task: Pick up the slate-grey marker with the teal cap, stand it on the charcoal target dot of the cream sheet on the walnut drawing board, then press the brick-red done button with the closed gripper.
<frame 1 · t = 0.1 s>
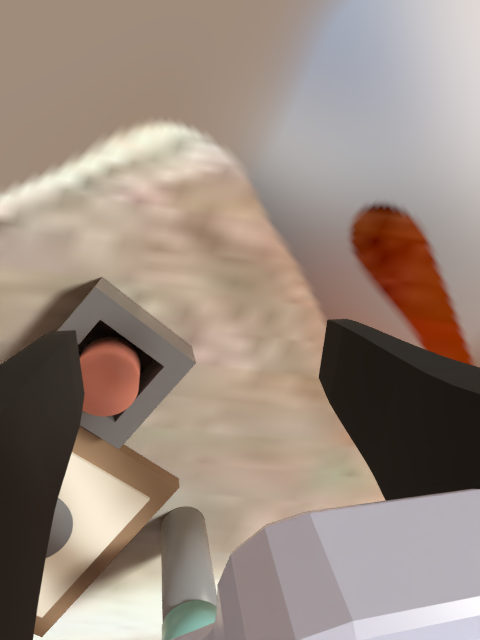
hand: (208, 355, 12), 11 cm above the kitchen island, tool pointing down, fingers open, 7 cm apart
done button: (107, 375, 19), point 3 cm above the kitchen island, slide at 0.0 cm
drawing board: (32, 513, 23), on the kitchen island
marker: (183, 525, 26), on the kitchen island
button housing: (112, 354, 22), on the kitchen island
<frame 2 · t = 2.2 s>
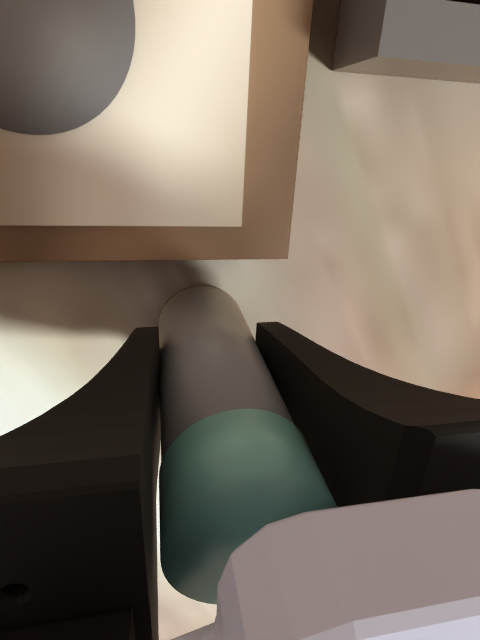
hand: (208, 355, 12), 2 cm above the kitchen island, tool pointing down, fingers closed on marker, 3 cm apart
drawing board: (29, 19, 9), on the kitchen island
marker: (200, 325, 13), on the kitchen island, touching gripper
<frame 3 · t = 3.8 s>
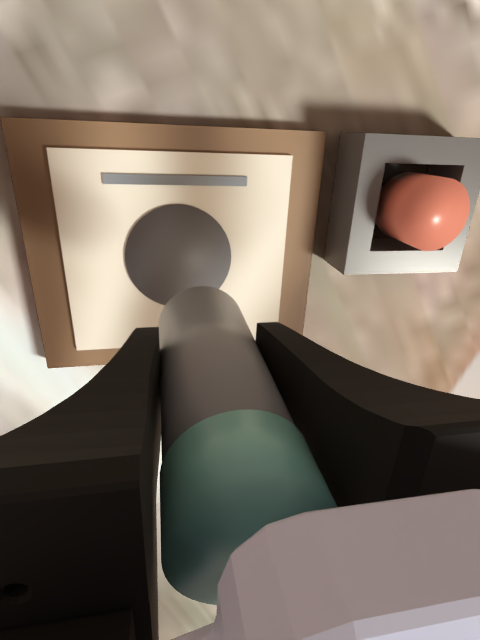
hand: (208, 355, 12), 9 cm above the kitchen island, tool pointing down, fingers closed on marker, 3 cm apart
done button: (419, 210, 18), point 3 cm above the kitchen island, slide at 0.0 cm
drawing board: (178, 252, 19), on the kitchen island
marker: (201, 325, 13), point 7 cm above the kitchen island, touching gripper
button housing: (387, 200, 20), on the kitchen island
when the fingers open (4 cm above the kitchen island, at t = 5.1 s): marker drops 1 cm, resting on drawing board.
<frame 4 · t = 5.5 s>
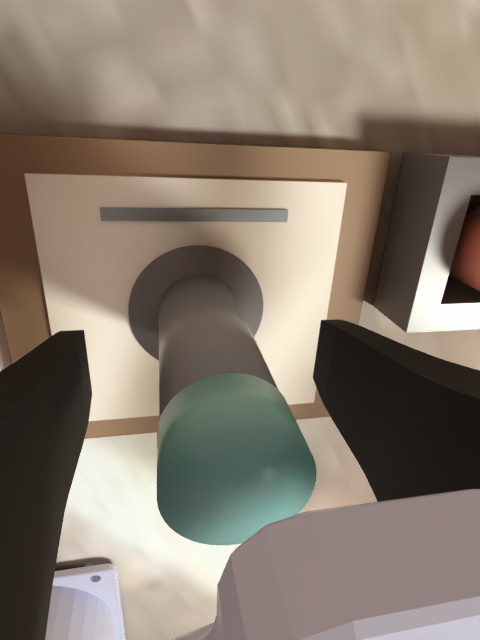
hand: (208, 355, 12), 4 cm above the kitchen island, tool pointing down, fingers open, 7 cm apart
drawing board: (195, 300, 15), on the kitchen island
marker: (198, 312, 14), point 1 cm above the kitchen island, touching drawing board
button housing: (455, 235, 16), on the kitchen island
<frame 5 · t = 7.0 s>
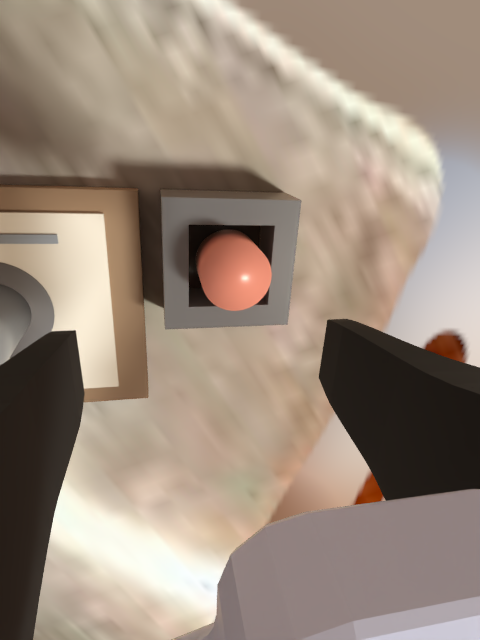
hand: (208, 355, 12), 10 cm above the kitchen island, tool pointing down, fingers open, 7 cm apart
done button: (231, 268, 18), point 3 cm above the kitchen island, slide at 0.0 cm
drawing board: (5, 303, 19), on the kitchen island
button housing: (222, 252, 20), on the kitchen island
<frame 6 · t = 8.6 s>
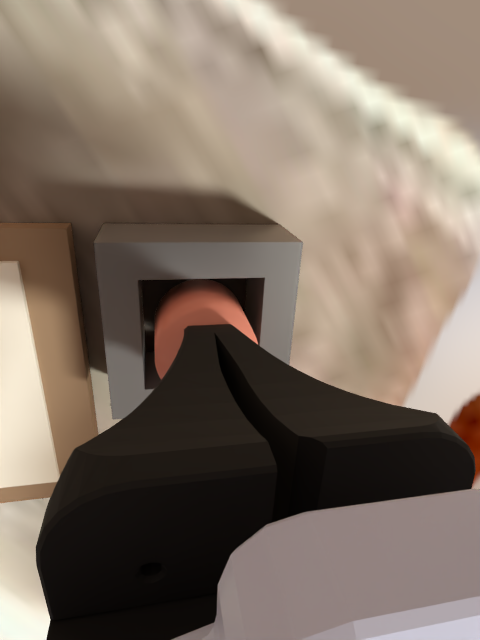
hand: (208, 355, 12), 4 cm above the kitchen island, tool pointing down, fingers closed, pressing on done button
done button: (203, 337, 13), point 3 cm above the kitchen island, slide at 0.1 cm, touching gripper
button housing: (195, 304, 15), on the kitchen island
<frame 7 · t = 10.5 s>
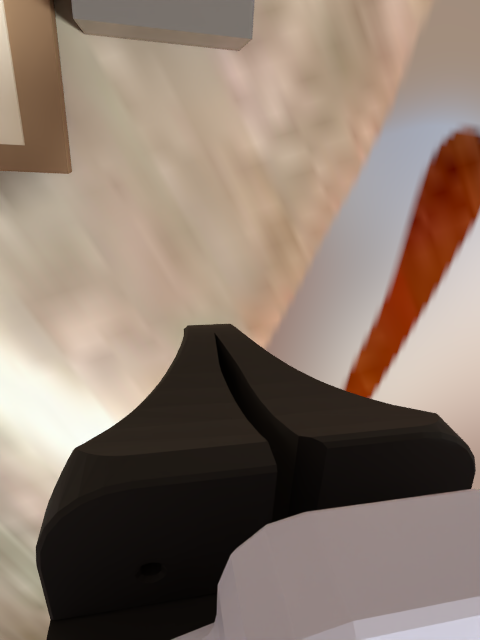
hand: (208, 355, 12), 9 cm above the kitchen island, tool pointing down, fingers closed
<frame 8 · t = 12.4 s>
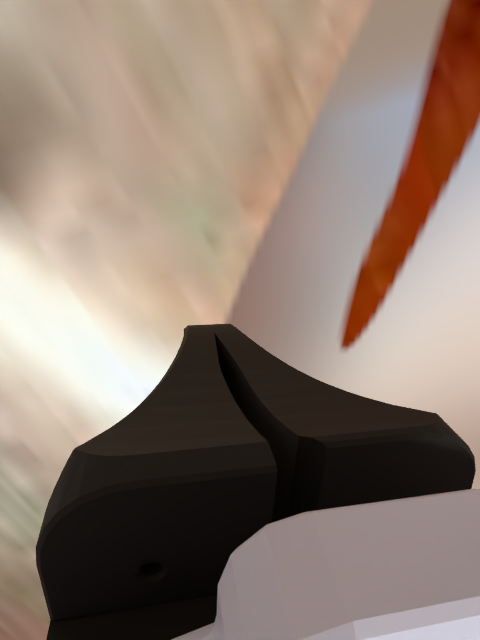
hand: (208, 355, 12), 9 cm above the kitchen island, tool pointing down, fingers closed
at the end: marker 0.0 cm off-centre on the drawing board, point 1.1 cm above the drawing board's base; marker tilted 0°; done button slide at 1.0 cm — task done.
